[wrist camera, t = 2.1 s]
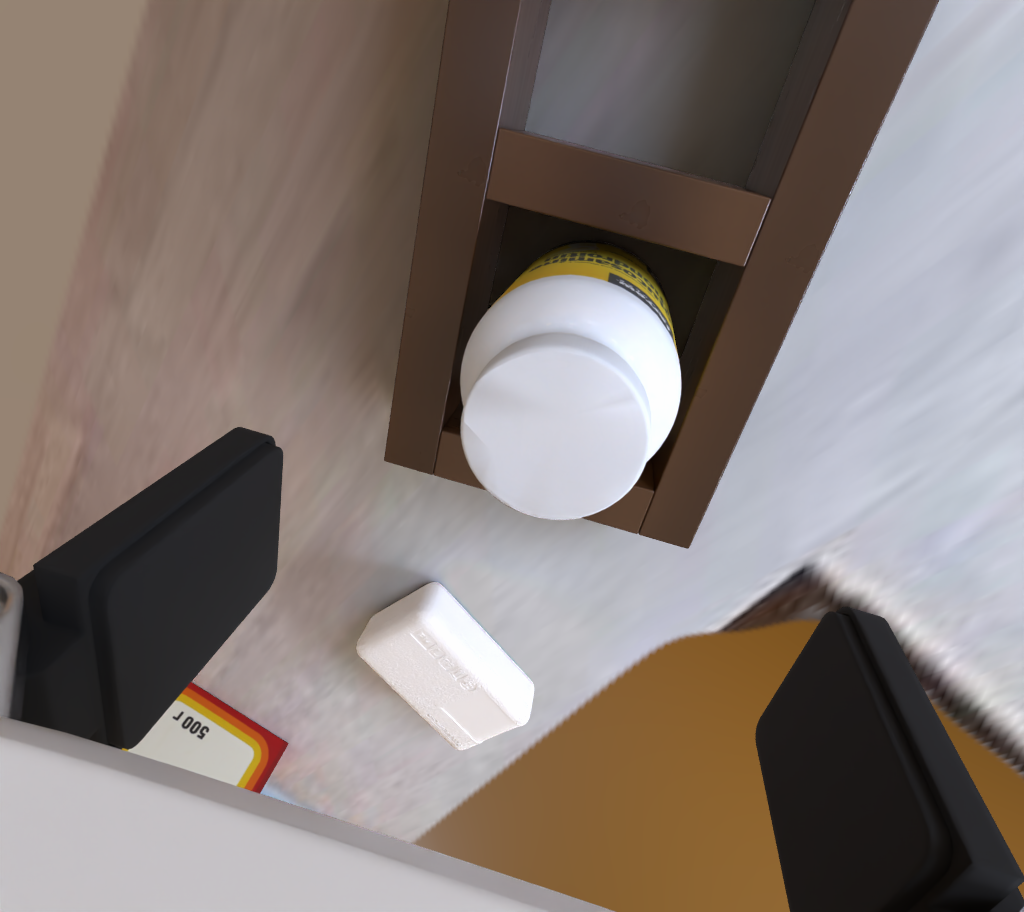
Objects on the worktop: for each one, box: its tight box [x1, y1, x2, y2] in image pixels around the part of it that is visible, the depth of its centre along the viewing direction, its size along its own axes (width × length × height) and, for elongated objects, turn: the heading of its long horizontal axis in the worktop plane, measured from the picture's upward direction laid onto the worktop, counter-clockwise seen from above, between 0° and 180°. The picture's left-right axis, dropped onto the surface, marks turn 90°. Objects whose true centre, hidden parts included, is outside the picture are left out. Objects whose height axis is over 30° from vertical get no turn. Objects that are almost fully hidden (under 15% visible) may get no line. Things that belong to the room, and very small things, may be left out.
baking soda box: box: [122, 682, 288, 794], centre depth 35 cm, size 10×6×16 cm
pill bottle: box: [460, 241, 681, 520], centre depth 20 cm, size 6×6×12 cm
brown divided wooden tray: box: [384, 0, 939, 548], centre depth 20 cm, size 12×22×5 cm, turn 167°
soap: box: [356, 582, 534, 750], centre depth 33 cm, size 9×6×3 cm, turn 39°
